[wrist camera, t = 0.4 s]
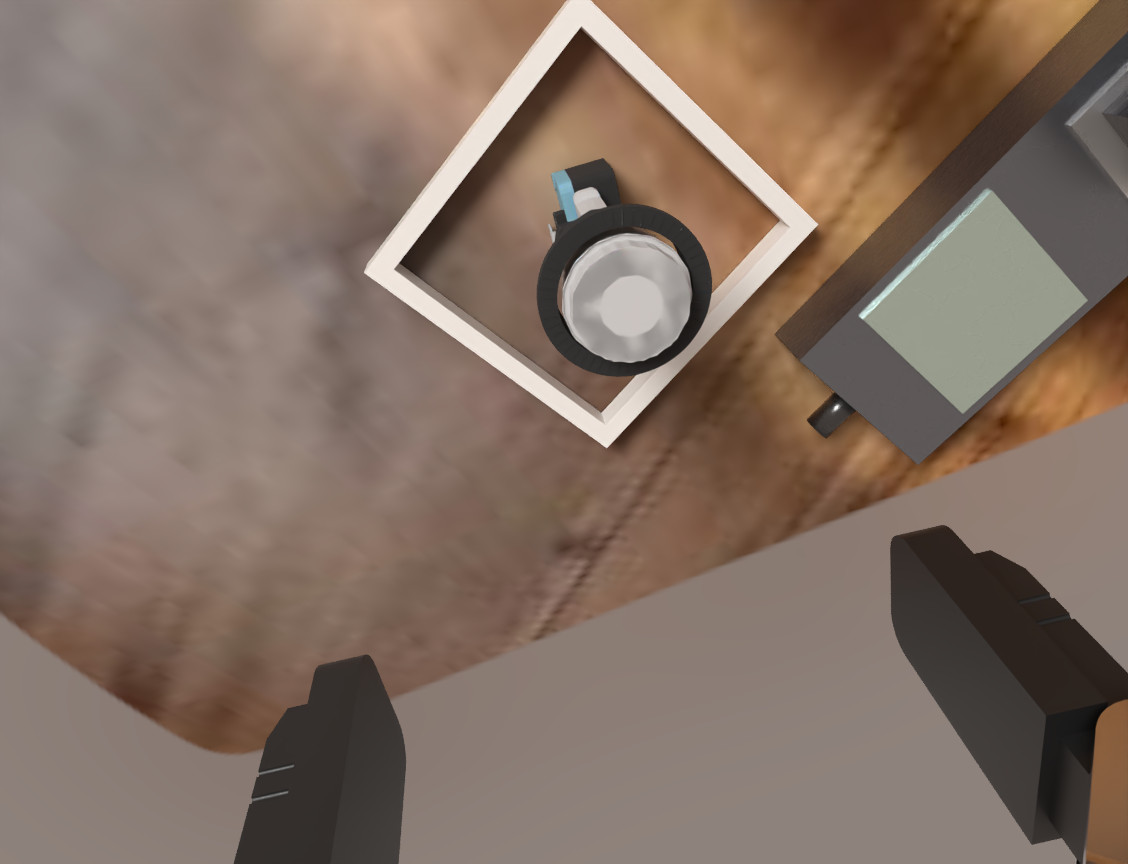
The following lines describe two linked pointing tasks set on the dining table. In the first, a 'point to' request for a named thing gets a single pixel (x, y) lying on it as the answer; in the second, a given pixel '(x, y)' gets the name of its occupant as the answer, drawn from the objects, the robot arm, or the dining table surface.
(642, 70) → the empty frame
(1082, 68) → the power strip
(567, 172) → the push button
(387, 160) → the dining table surface
